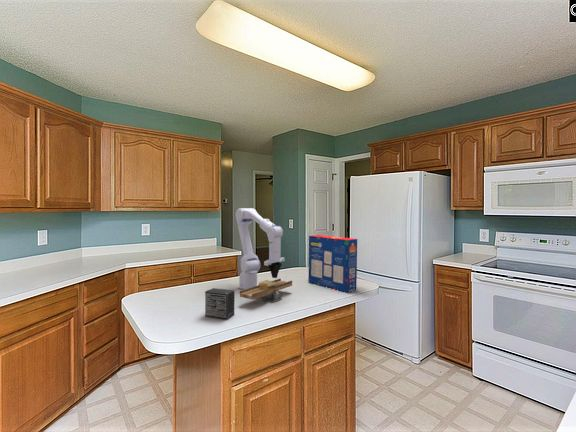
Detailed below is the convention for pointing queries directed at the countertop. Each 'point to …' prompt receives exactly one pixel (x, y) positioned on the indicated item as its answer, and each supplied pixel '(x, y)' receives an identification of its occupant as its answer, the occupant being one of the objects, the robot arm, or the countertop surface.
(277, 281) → the beam
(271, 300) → the fulcrum
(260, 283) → the block
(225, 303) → the small box
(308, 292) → the countertop surface
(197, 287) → the countertop surface
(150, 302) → the countertop surface
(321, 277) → the blue game box
